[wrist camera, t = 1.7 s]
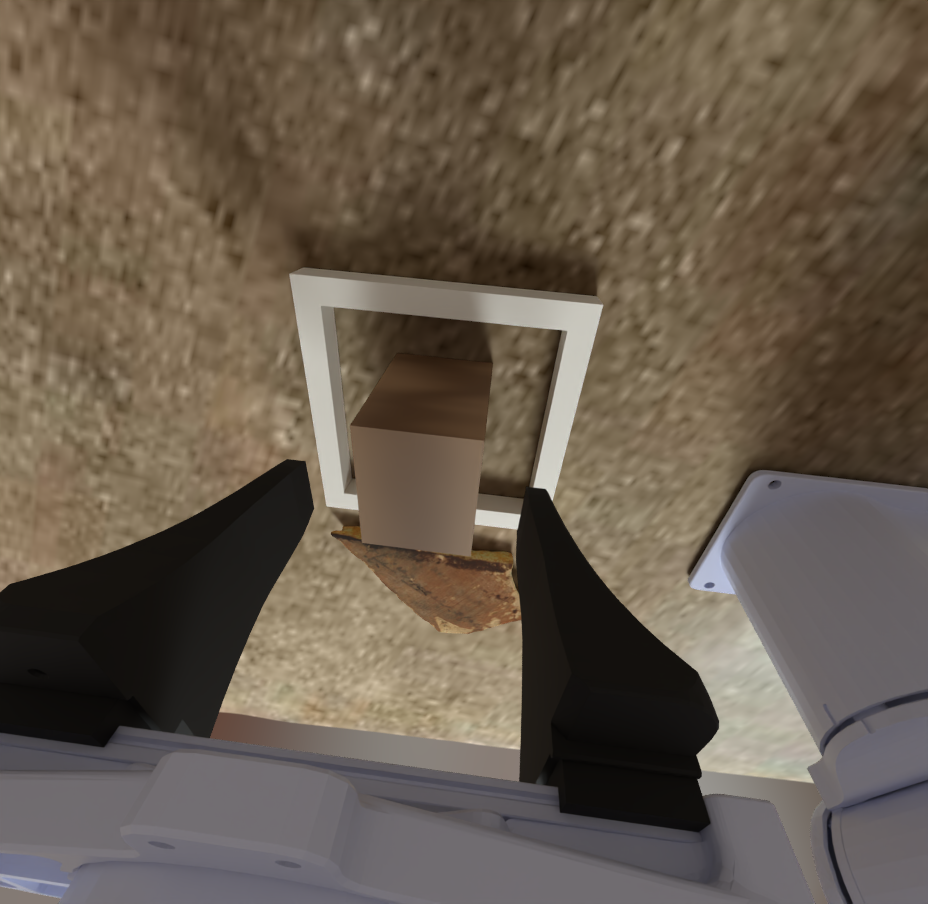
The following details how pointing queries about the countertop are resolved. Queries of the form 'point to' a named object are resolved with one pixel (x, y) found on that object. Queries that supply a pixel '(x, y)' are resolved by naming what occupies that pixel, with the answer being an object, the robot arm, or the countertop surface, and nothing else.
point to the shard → (444, 583)
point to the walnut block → (422, 453)
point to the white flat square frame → (451, 301)
